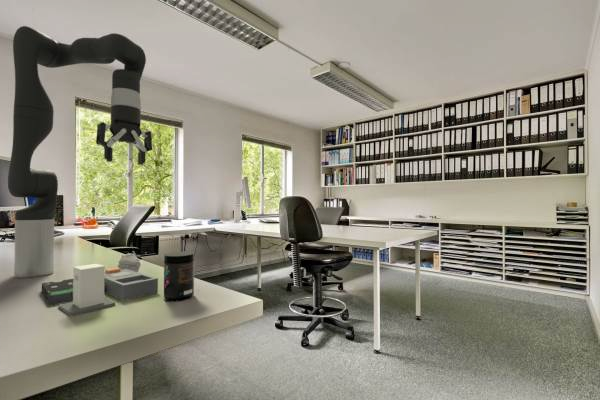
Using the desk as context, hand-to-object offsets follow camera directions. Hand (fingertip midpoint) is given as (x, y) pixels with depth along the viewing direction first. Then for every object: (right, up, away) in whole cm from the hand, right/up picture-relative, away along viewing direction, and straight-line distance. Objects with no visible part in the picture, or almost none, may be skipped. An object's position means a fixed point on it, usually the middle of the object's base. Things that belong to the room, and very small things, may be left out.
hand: (125, 163), depth 87 cm
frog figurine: (-1, -34, +4) cm, 35 cm away
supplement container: (+22, -34, -16) cm, 44 cm away
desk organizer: (+3, -34, -8) cm, 35 cm away
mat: (+5, -34, -22) cm, 41 cm away
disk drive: (-6, -35, -13) cm, 37 cm away
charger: (+5, -33, -22) cm, 40 cm away
